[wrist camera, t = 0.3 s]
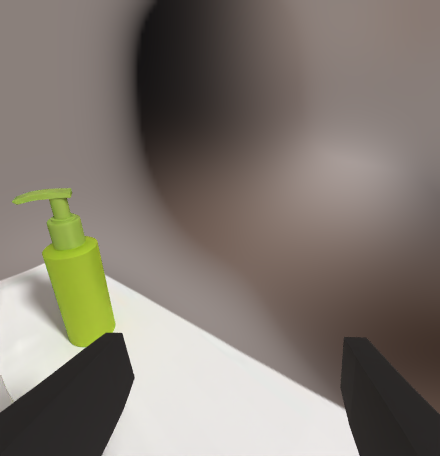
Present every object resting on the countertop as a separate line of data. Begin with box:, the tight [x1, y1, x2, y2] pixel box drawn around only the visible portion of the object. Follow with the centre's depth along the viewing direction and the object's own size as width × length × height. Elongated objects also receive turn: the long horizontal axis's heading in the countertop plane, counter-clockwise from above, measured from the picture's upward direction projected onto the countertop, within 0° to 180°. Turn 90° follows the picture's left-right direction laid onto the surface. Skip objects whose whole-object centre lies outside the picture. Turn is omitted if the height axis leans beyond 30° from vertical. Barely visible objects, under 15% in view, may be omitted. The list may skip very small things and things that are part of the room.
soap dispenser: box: [12, 188, 115, 347], centre depth 33 cm, size 6×7×20 cm
